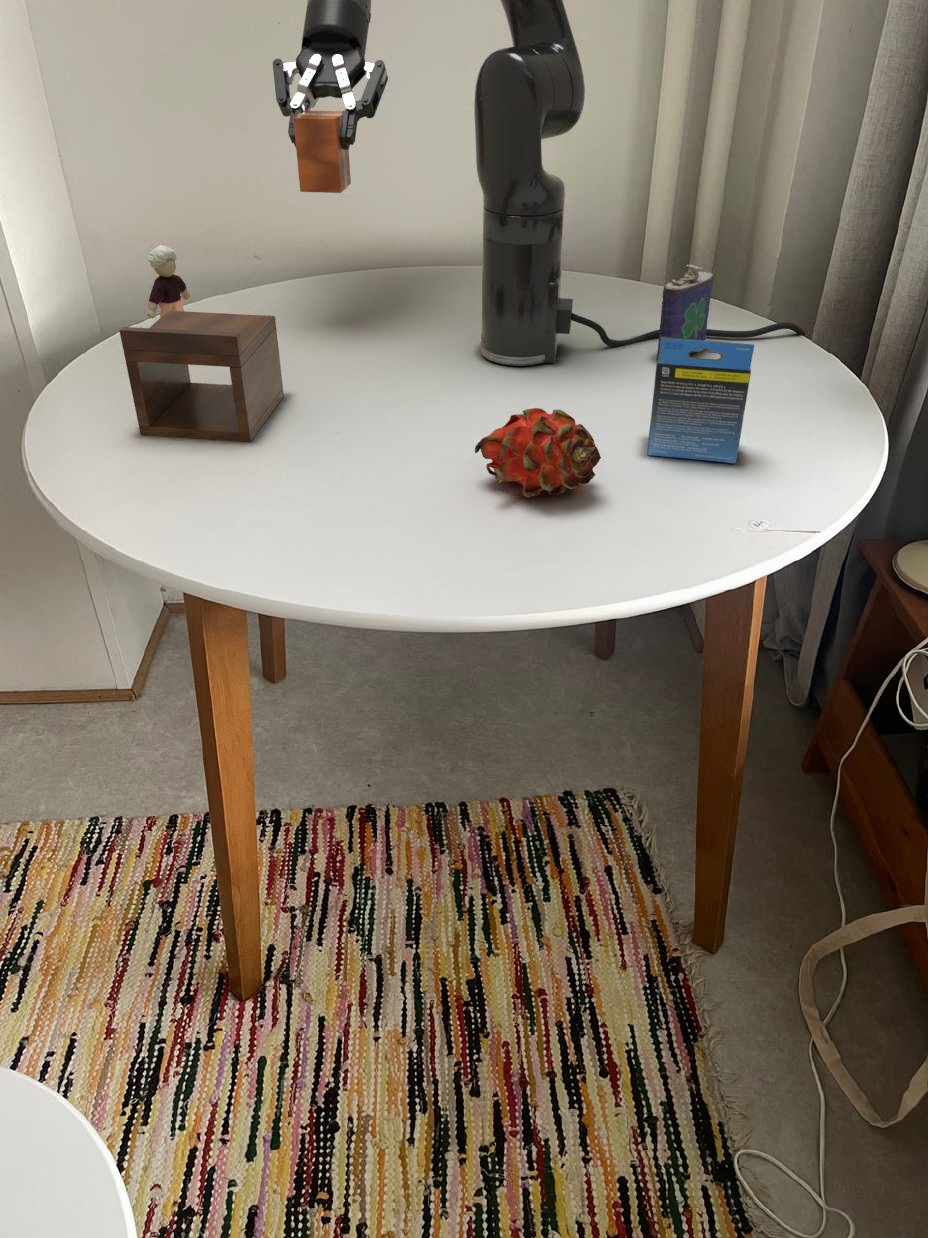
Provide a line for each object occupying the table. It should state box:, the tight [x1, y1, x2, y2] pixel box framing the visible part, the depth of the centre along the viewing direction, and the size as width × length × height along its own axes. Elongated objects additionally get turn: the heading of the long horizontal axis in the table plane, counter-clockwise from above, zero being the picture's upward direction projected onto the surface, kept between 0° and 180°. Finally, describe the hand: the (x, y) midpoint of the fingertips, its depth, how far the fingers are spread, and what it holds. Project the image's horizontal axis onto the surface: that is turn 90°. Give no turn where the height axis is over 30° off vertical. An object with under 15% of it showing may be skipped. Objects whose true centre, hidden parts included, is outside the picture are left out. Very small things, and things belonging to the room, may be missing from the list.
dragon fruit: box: [473, 407, 602, 499], centre depth 93 cm, size 8×8×12 cm
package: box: [293, 110, 352, 194], centre depth 118 cm, size 5×5×8 cm
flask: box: [655, 264, 715, 363], centre depth 121 cm, size 9×3×11 cm, turn 138°
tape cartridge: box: [646, 337, 755, 464], centre depth 98 cm, size 9×4×12 cm, turn 77°
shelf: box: [118, 310, 285, 443], centre depth 105 cm, size 12×12×11 cm
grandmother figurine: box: [146, 244, 191, 319], centre depth 121 cm, size 8×4×13 cm, turn 168°
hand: (320, 144), depth 117 cm, fingers closed on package, 5 cm apart
